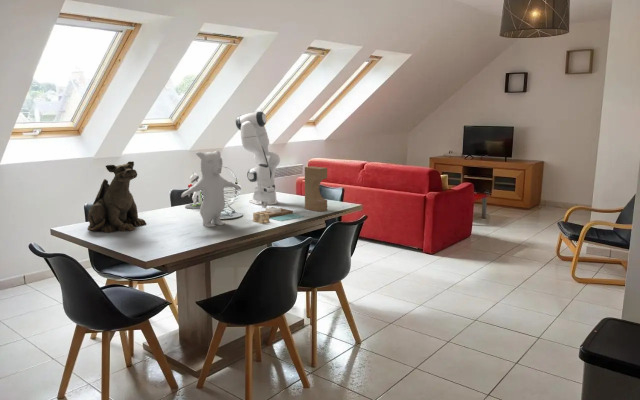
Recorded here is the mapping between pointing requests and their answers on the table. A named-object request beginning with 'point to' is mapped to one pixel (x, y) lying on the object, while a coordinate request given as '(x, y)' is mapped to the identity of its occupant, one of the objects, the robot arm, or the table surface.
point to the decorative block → (314, 188)
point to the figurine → (195, 194)
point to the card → (273, 210)
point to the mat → (286, 217)
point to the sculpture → (115, 203)
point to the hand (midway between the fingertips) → (264, 207)
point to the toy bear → (211, 188)
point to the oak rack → (261, 217)
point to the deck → (278, 213)
